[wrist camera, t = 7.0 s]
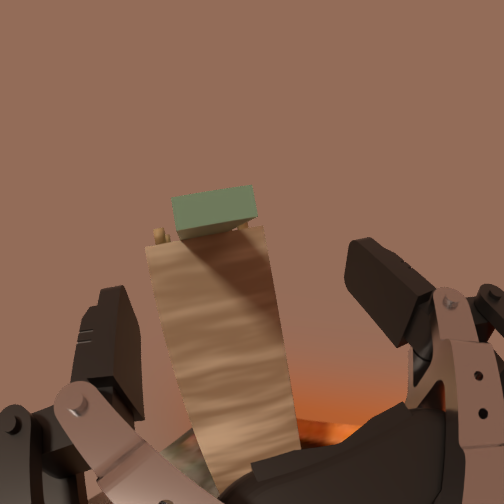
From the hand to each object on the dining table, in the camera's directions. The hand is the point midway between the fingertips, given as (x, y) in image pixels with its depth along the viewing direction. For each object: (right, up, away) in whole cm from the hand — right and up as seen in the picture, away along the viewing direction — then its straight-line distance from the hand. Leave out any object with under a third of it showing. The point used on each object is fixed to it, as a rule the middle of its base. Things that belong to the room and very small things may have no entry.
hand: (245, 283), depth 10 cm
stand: (+1, -29, +22) cm, 36 cm away
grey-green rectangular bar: (-4, +2, +15) cm, 15 cm away
